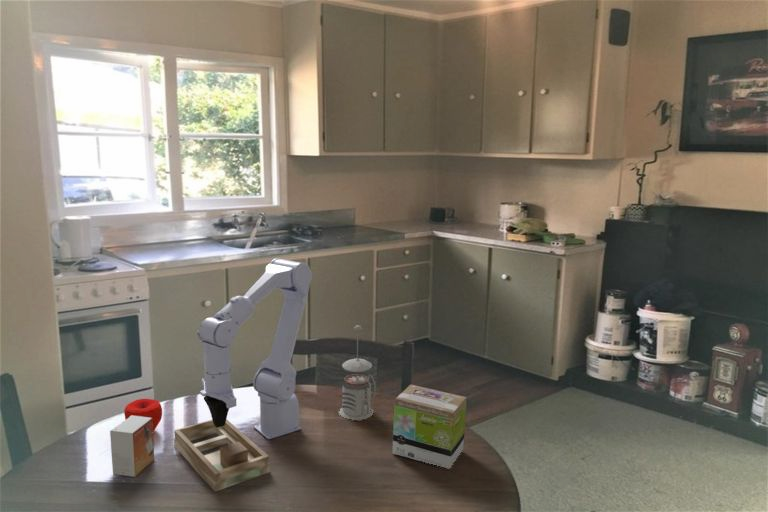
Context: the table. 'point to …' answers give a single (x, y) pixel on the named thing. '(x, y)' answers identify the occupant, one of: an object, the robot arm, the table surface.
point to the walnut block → (233, 454)
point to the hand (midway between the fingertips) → (219, 425)
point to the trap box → (204, 453)
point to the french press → (360, 405)
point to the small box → (132, 445)
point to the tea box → (429, 425)
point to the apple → (145, 410)
